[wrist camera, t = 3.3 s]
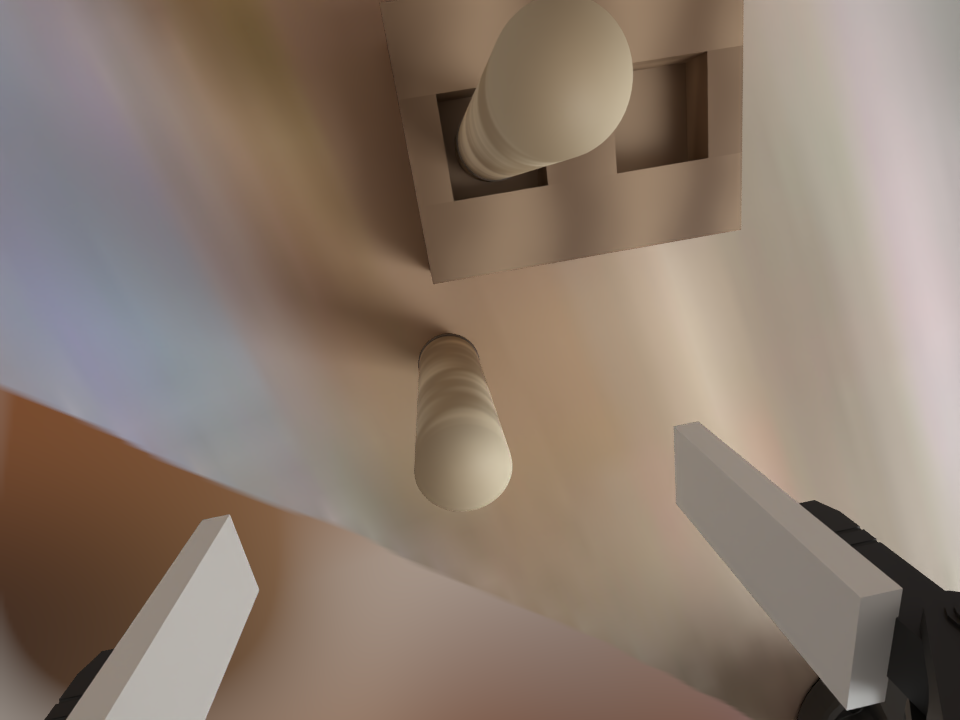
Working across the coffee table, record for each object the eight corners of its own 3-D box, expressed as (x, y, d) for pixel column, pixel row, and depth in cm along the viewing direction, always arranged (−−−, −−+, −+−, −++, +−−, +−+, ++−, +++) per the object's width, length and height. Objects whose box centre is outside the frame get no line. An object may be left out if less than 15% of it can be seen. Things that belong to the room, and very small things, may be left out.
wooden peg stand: (691, -10, 26) (1104, -340, 10) (695, 225, 29) (999, 251, 14) (387, 37, 25) (321, -243, 9) (432, 272, 29) (438, 355, 13)
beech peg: (470, 319, 30) (506, 414, 17) (479, 373, 31) (519, 502, 18) (413, 330, 30) (403, 434, 16) (425, 383, 31) (423, 521, 18)
